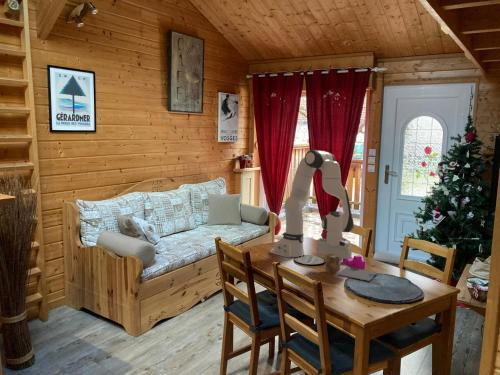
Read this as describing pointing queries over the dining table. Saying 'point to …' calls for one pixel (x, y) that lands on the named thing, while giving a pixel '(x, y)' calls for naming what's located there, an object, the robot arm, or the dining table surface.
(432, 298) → the dining table surface
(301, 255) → the robot arm
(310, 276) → the dining table surface
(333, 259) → the walnut block
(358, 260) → the toy block
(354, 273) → the mat
